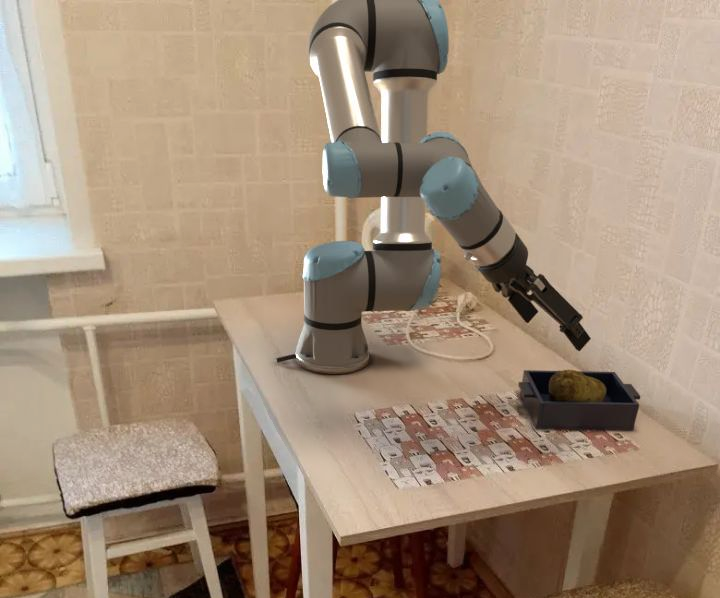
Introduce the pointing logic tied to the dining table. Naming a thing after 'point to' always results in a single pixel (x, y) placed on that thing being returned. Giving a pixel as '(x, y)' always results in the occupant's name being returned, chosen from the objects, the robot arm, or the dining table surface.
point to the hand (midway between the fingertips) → (556, 330)
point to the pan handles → (529, 393)
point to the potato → (575, 387)
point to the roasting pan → (581, 405)
